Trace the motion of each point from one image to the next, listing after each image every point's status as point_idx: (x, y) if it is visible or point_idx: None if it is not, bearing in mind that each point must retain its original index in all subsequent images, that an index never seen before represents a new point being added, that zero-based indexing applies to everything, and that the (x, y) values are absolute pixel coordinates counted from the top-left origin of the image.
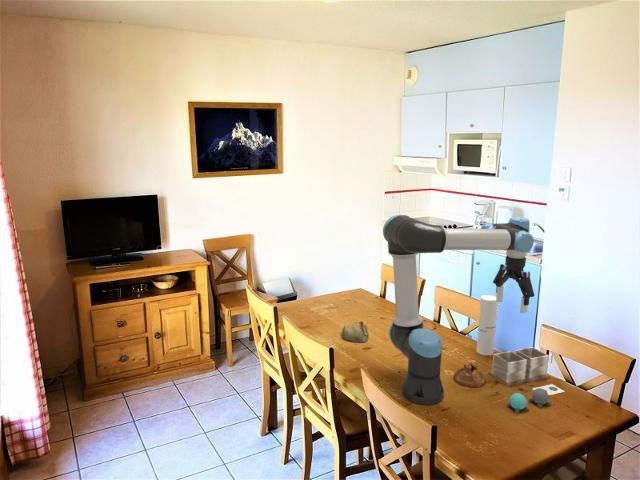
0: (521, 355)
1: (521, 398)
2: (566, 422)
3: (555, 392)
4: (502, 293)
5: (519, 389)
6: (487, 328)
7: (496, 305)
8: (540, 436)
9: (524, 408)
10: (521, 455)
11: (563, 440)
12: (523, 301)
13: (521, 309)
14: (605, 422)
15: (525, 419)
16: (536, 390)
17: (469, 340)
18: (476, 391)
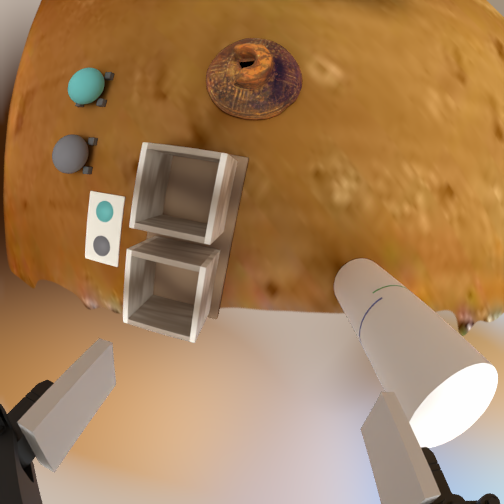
0: (175, 258)
1: (69, 81)
2: (30, 147)
3: (89, 233)
4: (378, 477)
5: None
6: (375, 300)
7: None
8: (39, 71)
9: None
10: (44, 19)
11: (18, 100)
12: (44, 402)
13: (86, 354)
14: (9, 215)
15: None
16: (65, 142)
17: None
18: (197, 54)
